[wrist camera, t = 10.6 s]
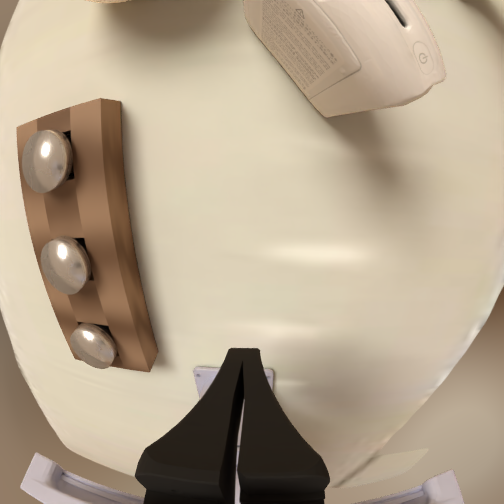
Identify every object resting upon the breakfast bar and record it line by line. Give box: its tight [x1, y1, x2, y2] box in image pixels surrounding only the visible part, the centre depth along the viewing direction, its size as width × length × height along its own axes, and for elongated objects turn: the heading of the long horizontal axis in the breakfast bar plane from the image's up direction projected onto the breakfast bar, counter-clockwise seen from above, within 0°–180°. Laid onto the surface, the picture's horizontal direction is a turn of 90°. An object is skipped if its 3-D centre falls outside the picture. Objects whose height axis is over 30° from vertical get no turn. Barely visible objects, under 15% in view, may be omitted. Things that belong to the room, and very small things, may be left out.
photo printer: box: [243, 0, 446, 118], centre depth 10 cm, size 10×4×12 cm, turn 36°
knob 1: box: [22, 129, 74, 193], centre depth 16 cm, size 4×4×4 cm
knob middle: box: [41, 236, 91, 295], centre depth 20 cm, size 4×4×4 cm
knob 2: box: [70, 323, 117, 369], centre depth 23 cm, size 4×4×4 cm
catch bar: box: [17, 98, 158, 372], centre depth 20 cm, size 23×9×3 cm, turn 1°
